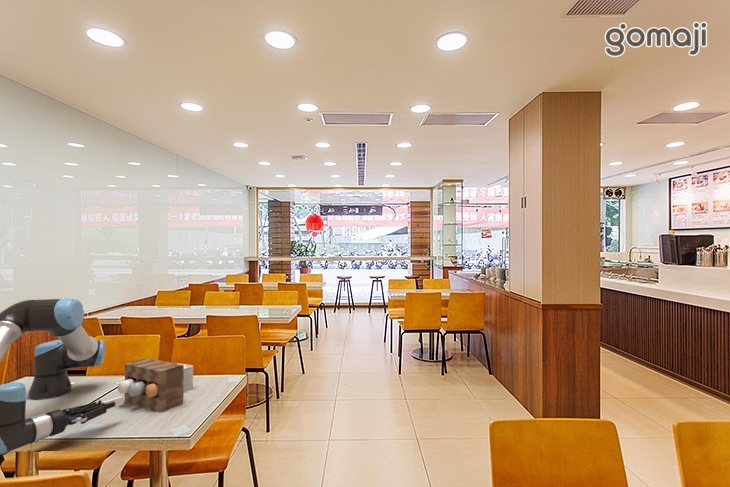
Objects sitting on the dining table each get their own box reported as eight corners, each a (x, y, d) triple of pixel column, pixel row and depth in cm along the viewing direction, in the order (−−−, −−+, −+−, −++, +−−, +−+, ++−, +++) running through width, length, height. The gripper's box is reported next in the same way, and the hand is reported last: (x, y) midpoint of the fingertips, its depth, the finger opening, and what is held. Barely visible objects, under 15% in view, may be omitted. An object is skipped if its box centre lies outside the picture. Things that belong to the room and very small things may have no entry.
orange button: (145, 396, 155) (145, 383, 155) (164, 390, 162) (164, 378, 163) (153, 398, 153) (153, 385, 153) (172, 391, 160) (172, 379, 160)
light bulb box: (164, 390, 178) (164, 366, 179) (176, 385, 185) (177, 362, 185) (181, 393, 174) (181, 369, 175) (193, 388, 181) (193, 365, 181)
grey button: (128, 395, 156) (128, 383, 156) (147, 389, 163) (147, 377, 163) (135, 397, 154) (136, 385, 154) (155, 391, 161) (155, 379, 161)
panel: (124, 401, 164) (124, 363, 164) (147, 394, 173) (147, 358, 173) (161, 412, 153) (161, 371, 153) (183, 403, 162) (183, 365, 162)
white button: (117, 393, 159) (117, 380, 159) (137, 386, 167) (137, 375, 167) (125, 395, 157) (125, 382, 157) (144, 388, 164) (144, 376, 164)
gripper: (36, 432, 127) (111, 407, 148) (57, 441, 121) (132, 413, 142) (36, 409, 127) (111, 387, 148) (58, 417, 121) (132, 392, 142)
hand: (121, 400), depth 145 cm, fingers closed
